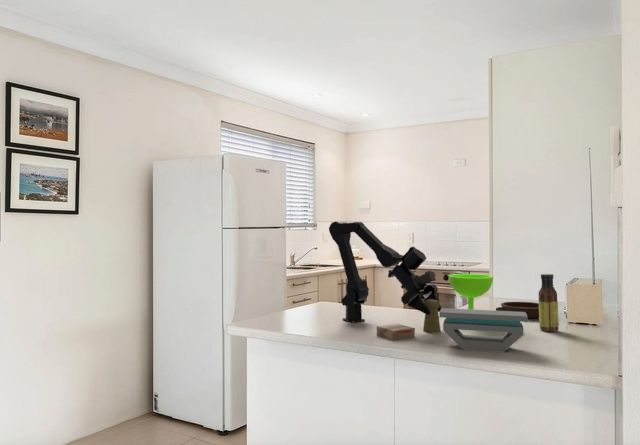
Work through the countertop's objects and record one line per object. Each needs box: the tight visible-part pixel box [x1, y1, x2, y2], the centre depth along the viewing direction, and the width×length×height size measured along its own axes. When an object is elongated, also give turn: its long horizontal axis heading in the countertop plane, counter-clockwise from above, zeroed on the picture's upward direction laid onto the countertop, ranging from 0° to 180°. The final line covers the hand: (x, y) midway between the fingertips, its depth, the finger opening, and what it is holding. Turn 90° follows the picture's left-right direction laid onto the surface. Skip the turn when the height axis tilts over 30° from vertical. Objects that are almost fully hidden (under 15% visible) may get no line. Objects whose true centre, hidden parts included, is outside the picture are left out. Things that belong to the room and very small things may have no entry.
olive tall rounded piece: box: [422, 299, 442, 334], centre depth 183 cm, size 6×6×11 cm
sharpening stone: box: [438, 307, 528, 353], centre depth 159 cm, size 25×8×11 cm, turn 73°
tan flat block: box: [376, 323, 416, 341], centre depth 175 cm, size 9×9×3 cm
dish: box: [495, 301, 539, 320], centre depth 212 cm, size 17×22×5 cm
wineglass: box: [448, 273, 494, 310], centre depth 195 cm, size 16×16×18 cm
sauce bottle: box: [538, 273, 560, 333], centre depth 184 cm, size 6×6×20 cm
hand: (435, 312), depth 182 cm, fingers open, 9 cm apart
